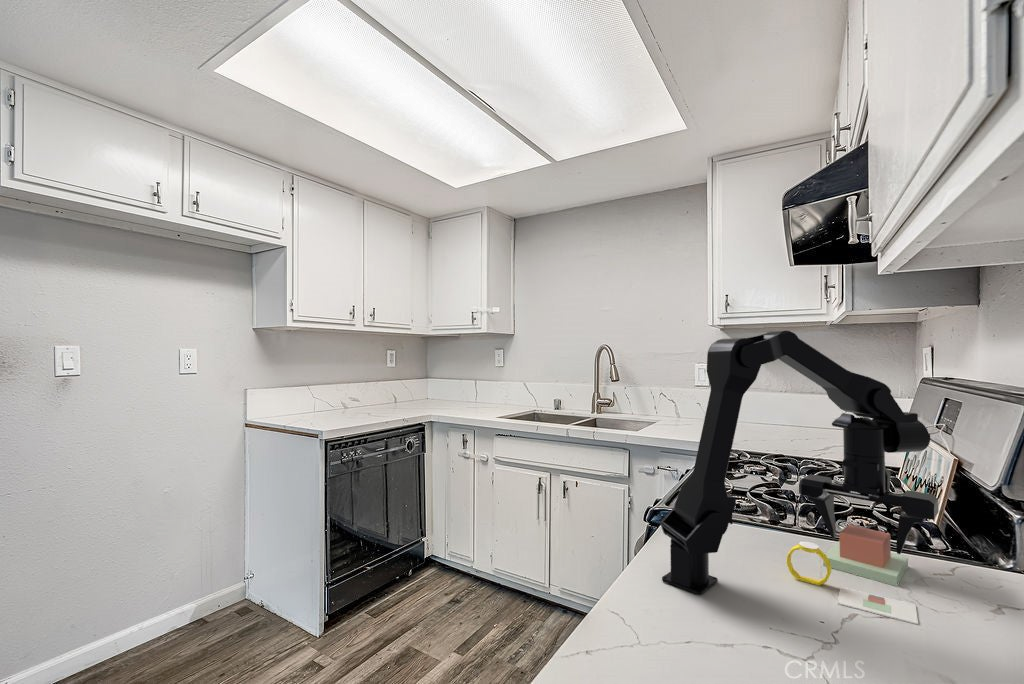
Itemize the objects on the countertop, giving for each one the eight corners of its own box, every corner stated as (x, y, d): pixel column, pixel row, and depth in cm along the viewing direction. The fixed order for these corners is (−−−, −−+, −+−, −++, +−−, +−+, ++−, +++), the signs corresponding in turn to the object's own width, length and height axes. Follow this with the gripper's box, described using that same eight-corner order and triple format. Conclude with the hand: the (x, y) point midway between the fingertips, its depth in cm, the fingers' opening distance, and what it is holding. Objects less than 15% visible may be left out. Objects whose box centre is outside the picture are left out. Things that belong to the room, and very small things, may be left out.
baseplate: (896, 586, 76) (896, 576, 76) (823, 565, 83) (823, 556, 83) (908, 566, 83) (907, 557, 83) (839, 548, 90) (838, 540, 90)
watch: (830, 585, 77) (833, 548, 77) (828, 592, 75) (830, 554, 75) (788, 571, 81) (790, 536, 81) (784, 577, 79) (787, 541, 78)
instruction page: (918, 624, 65) (918, 623, 65) (837, 603, 71) (837, 602, 71) (915, 605, 70) (915, 604, 70) (840, 587, 75) (840, 586, 75)
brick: (883, 568, 79) (882, 543, 79) (839, 556, 83) (839, 533, 83) (890, 557, 83) (890, 533, 83) (848, 546, 87) (848, 524, 87)
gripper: (942, 455, 82) (943, 548, 82) (816, 440, 95) (817, 519, 95) (932, 466, 74) (934, 568, 74) (797, 448, 88) (798, 534, 88)
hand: (865, 545), depth 83 cm, fingers open, 9 cm apart
